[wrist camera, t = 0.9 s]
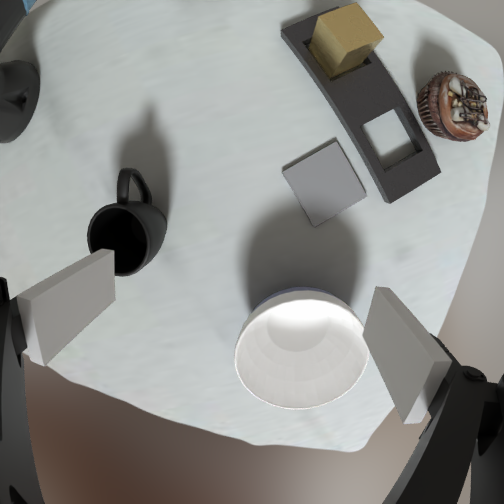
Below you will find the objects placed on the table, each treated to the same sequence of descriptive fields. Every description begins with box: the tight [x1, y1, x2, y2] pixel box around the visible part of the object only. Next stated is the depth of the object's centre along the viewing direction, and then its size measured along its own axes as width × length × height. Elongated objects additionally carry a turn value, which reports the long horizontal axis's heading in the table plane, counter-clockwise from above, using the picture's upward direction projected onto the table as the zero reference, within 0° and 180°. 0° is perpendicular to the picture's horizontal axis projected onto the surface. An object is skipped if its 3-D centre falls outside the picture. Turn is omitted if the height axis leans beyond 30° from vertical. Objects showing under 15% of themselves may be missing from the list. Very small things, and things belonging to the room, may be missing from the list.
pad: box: [282, 141, 367, 227], centre depth 38 cm, size 8×8×1 cm
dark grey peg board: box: [281, 7, 441, 204], centre depth 34 cm, size 26×9×2 cm, turn 32°
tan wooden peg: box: [308, 2, 384, 79], centre depth 29 cm, size 5×5×10 cm
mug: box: [87, 168, 167, 277], centre depth 36 cm, size 8×12×10 cm
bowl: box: [234, 287, 369, 409], centre depth 38 cm, size 16×16×10 cm
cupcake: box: [417, 71, 490, 142], centre depth 29 cm, size 10×10×10 cm
